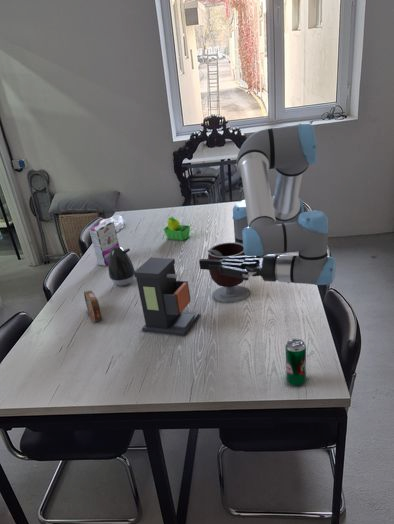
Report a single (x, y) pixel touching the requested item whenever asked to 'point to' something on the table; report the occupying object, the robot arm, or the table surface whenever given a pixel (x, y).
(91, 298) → the tin
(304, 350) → the soda can
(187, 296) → the push plate
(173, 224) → the fruit basket
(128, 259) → the pump dispenser
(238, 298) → the mate gourd
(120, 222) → the knuckle duster
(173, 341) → the table surface
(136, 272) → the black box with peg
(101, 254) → the candy bar box
